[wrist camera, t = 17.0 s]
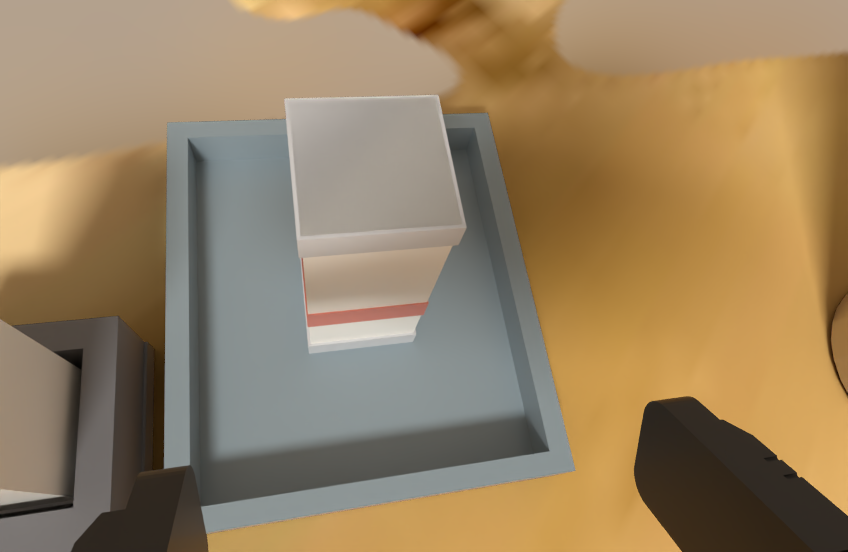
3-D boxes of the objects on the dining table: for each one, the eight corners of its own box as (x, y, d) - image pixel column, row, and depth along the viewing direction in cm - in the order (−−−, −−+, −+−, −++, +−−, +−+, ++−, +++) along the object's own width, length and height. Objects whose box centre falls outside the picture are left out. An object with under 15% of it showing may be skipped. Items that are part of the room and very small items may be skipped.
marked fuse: (397, 249, 25) (438, 94, 16) (412, 341, 24) (466, 227, 14) (300, 257, 24) (283, 98, 15) (308, 353, 23) (296, 240, 14)
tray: (475, 144, 29) (487, 112, 27) (550, 475, 23) (575, 470, 21) (181, 157, 26) (167, 122, 24) (181, 538, 20) (163, 539, 18)
